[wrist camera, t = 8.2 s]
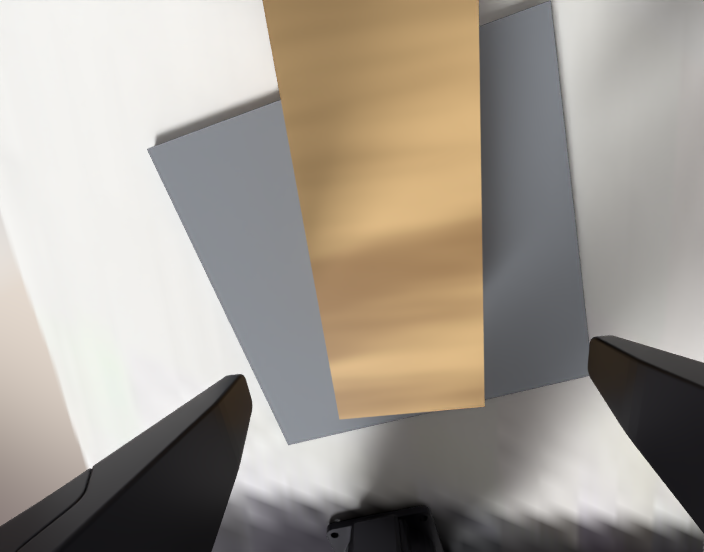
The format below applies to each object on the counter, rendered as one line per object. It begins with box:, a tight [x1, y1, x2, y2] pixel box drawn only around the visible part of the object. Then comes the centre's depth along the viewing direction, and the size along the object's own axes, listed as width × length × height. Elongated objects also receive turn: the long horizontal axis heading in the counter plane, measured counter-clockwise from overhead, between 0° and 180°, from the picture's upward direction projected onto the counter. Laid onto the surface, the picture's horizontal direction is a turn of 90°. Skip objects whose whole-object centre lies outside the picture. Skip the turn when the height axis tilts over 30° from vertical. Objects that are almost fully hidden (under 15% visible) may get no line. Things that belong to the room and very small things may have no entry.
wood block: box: [263, 0, 485, 420], centre depth 12 cm, size 5×5×13 cm
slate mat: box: [147, 1, 589, 445], centre depth 16 cm, size 16×16×1 cm
